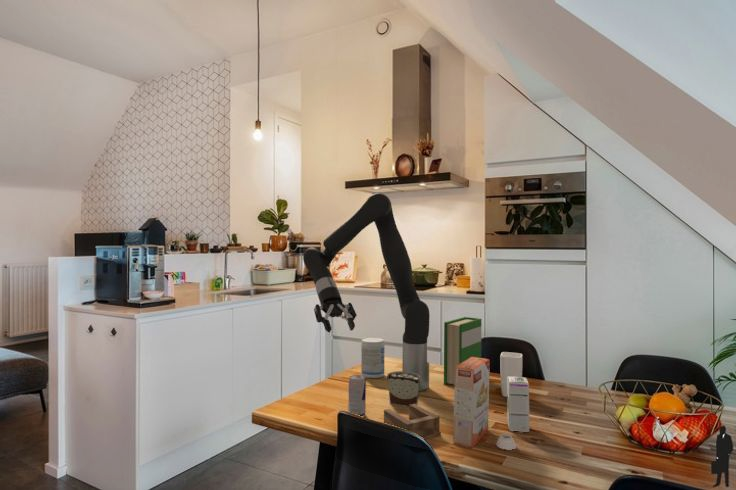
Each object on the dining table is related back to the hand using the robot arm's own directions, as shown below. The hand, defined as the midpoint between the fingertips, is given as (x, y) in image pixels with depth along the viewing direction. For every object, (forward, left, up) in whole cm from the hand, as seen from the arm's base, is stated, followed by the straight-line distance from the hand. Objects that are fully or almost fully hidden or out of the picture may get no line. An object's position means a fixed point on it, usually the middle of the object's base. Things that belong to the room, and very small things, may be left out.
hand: (341, 330), depth 150 cm
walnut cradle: (-8, +30, -25) cm, 39 cm away
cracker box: (-21, +41, -25) cm, 52 cm away
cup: (-57, +22, -25) cm, 66 cm away
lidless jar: (-25, +50, -25) cm, 61 cm away
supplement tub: (-26, -23, -25) cm, 43 cm away
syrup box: (-37, +43, -25) cm, 62 cm away
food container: (-20, +10, -25) cm, 33 cm away
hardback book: (-54, 0, -25) cm, 60 cm away
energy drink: (0, +12, -25) cm, 28 cm away
